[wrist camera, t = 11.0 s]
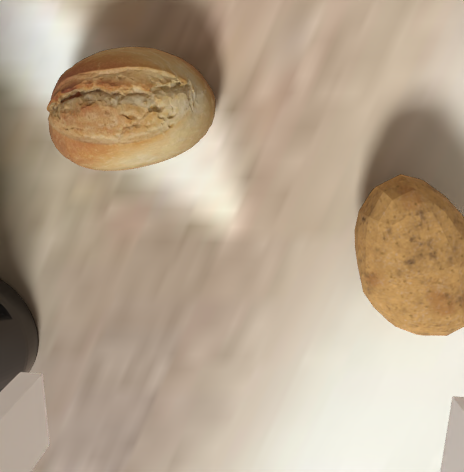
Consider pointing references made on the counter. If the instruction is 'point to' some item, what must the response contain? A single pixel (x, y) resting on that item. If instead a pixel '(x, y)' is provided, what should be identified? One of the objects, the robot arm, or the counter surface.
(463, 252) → the potato
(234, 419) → the counter surface
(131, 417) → the counter surface
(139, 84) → the bread roll
